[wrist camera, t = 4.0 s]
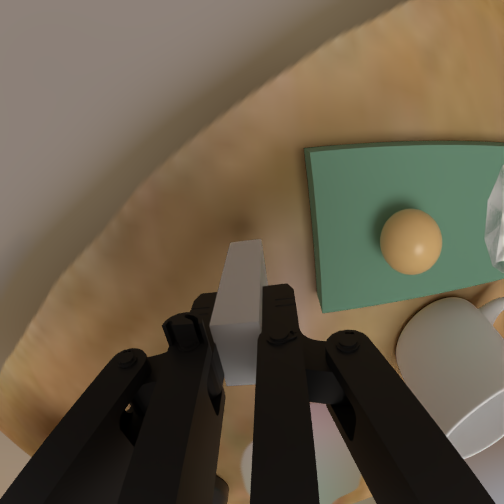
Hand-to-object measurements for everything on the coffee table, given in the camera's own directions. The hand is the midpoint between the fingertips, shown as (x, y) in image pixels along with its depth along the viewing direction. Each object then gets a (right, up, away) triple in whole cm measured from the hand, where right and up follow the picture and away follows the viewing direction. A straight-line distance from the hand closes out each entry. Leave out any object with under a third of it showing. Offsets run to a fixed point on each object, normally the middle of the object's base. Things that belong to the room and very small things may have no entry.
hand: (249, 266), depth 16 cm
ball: (+9, +1, 0) cm, 9 cm away
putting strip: (+15, +4, +4) cm, 16 cm away
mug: (+17, -5, +8) cm, 20 cm away
